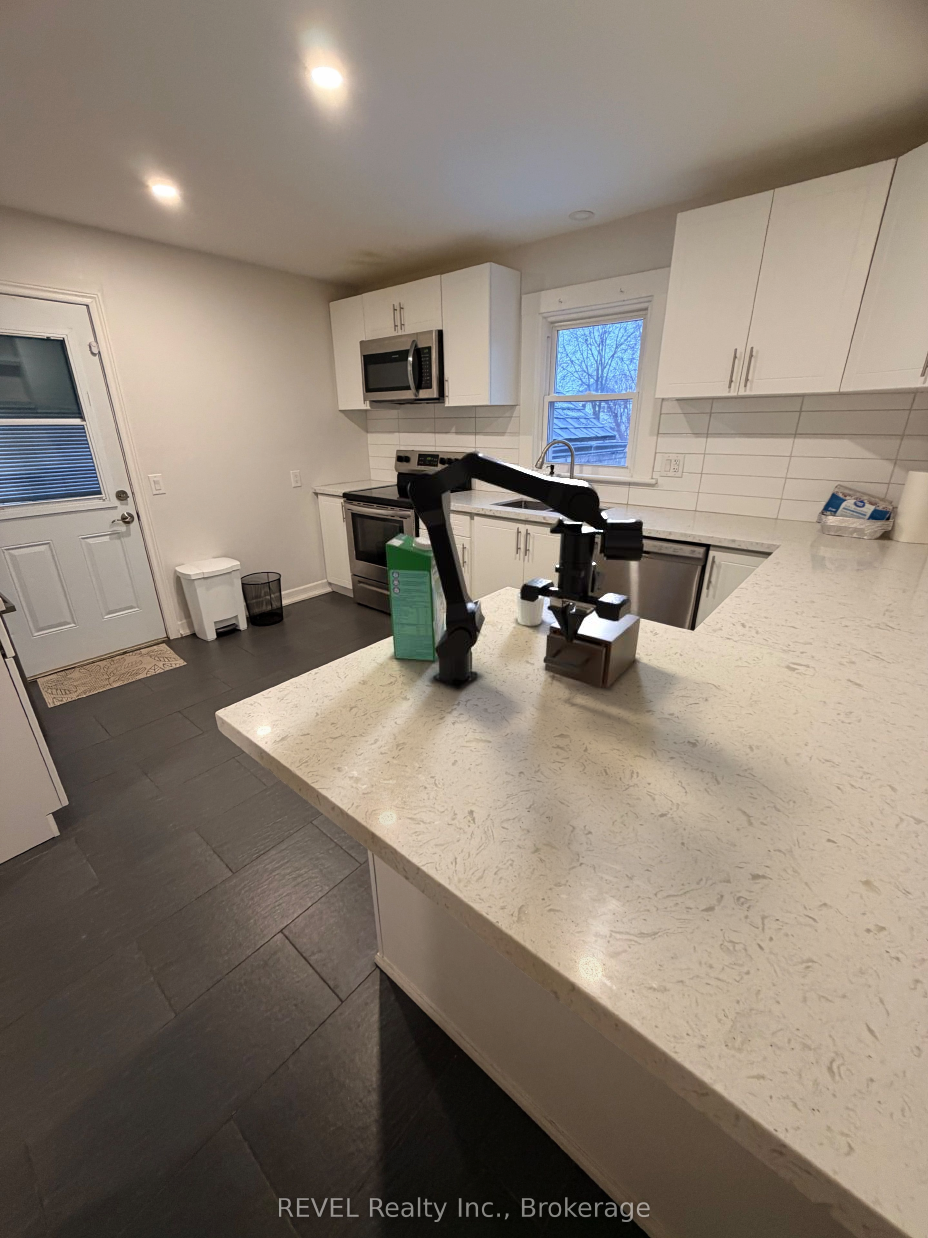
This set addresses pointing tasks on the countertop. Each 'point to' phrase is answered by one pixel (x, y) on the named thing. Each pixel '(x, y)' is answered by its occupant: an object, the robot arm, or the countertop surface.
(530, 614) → the white cup
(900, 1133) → the countertop surface
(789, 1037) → the countertop surface
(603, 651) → the drawer
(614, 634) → the cabinet
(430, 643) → the milk carton
